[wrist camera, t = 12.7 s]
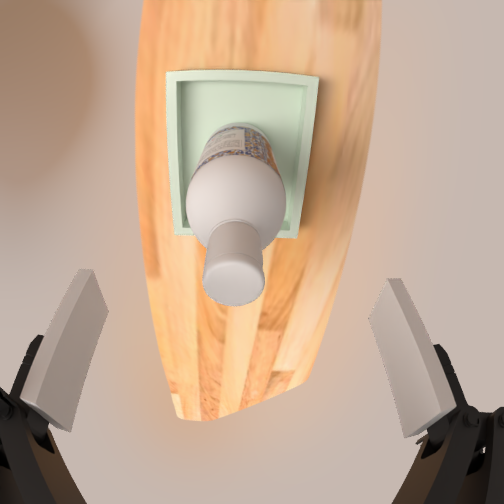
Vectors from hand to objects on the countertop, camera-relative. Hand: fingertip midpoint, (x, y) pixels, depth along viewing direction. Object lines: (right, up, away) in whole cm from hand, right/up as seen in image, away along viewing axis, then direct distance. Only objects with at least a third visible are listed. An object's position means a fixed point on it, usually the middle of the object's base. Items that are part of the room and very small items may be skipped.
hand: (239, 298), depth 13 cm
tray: (-1, +13, +18) cm, 22 cm away
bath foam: (-1, +12, +17) cm, 21 cm away
